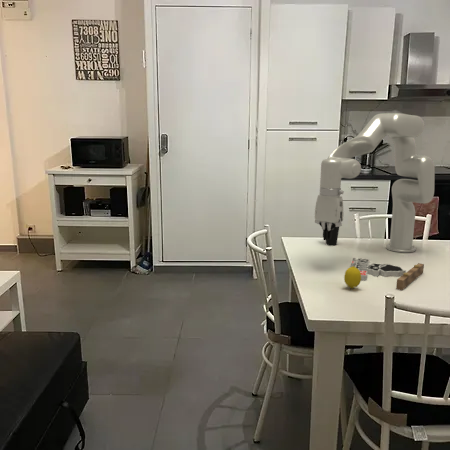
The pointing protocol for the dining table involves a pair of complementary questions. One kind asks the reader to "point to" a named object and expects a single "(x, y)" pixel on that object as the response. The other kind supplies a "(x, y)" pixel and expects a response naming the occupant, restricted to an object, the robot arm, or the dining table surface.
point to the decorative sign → (376, 269)
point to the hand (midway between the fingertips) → (327, 239)
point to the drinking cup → (333, 237)
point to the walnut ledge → (409, 276)
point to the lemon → (352, 277)
